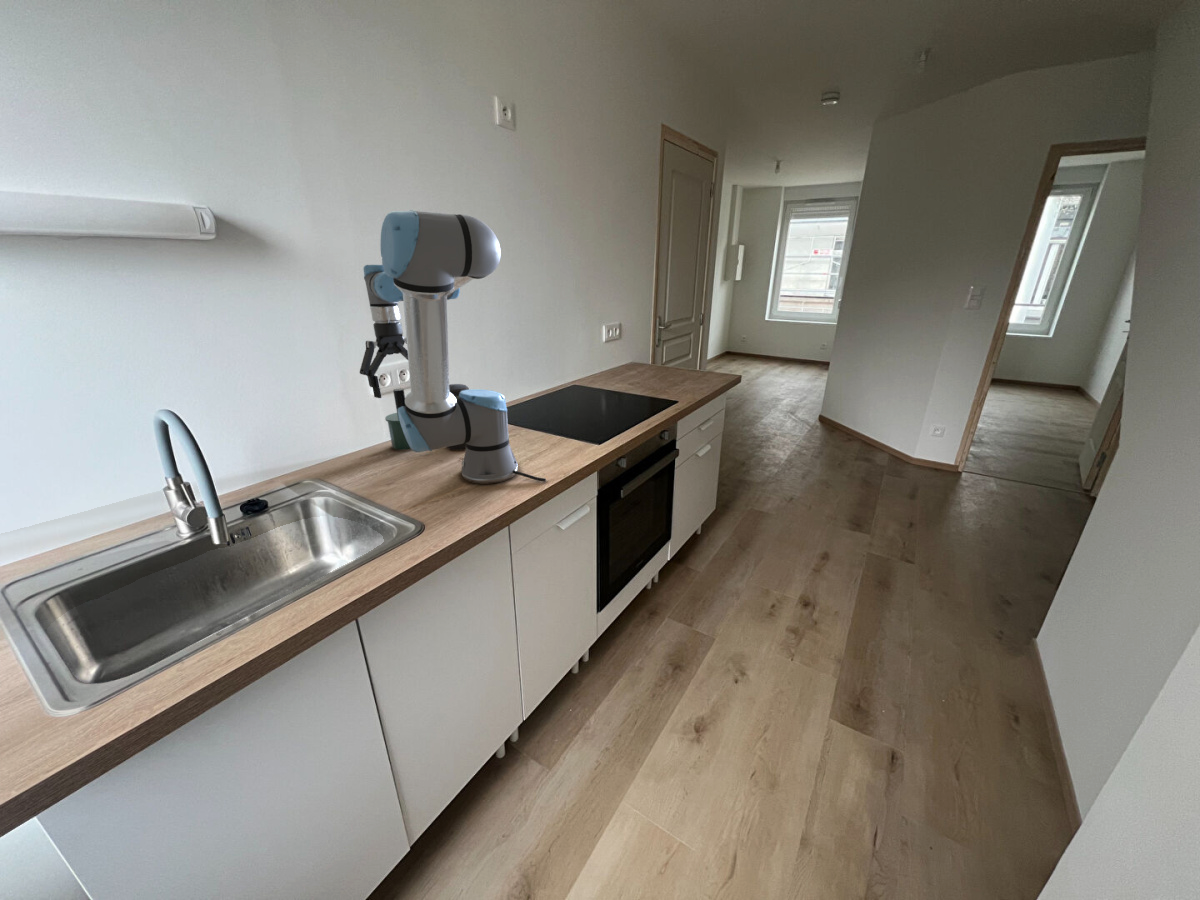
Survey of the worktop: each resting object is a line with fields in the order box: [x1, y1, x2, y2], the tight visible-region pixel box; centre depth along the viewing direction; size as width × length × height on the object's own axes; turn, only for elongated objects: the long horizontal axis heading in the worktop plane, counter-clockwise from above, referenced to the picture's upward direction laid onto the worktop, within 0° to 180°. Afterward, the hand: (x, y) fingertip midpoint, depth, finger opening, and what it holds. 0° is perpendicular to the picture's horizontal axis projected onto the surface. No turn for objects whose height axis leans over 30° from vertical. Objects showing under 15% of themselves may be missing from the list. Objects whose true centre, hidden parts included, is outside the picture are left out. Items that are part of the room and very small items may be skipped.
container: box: [447, 383, 470, 451], centre depth 142 cm, size 9×9×20 cm
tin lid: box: [384, 388, 406, 423], centre depth 141 cm, size 10×10×10 cm
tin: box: [387, 422, 412, 450], centre depth 144 cm, size 9×9×10 cm
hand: (399, 393), depth 139 cm, fingers open, 13 cm apart
